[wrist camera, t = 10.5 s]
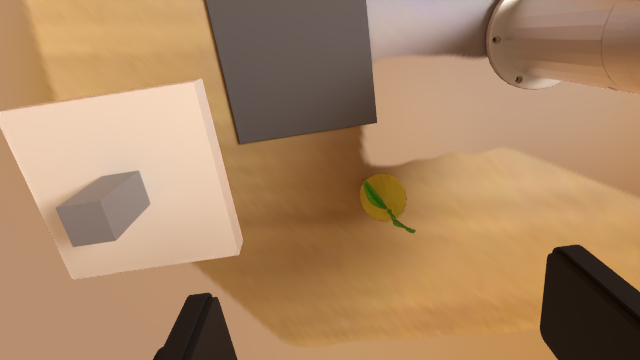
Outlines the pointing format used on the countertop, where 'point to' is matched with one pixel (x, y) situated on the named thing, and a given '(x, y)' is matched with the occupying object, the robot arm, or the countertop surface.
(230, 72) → the mat
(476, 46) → the countertop surface
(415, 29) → the countertop surface
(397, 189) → the lemon
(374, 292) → the countertop surface
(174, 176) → the lid
